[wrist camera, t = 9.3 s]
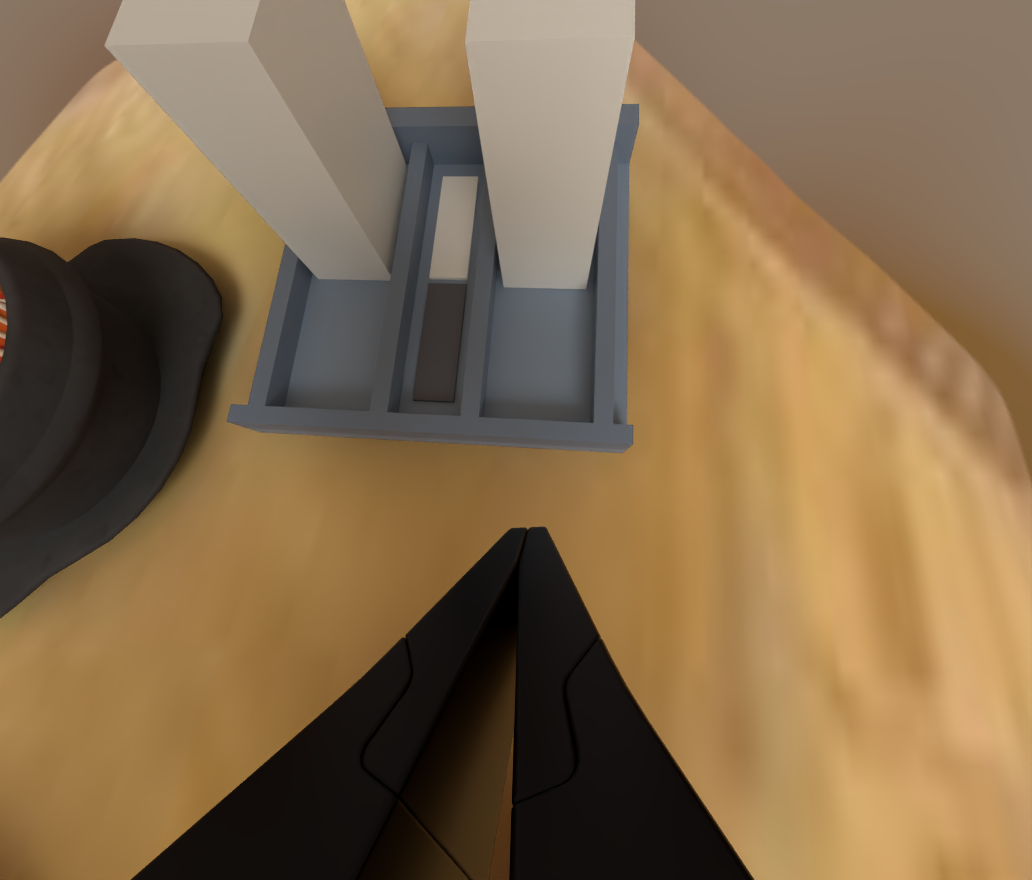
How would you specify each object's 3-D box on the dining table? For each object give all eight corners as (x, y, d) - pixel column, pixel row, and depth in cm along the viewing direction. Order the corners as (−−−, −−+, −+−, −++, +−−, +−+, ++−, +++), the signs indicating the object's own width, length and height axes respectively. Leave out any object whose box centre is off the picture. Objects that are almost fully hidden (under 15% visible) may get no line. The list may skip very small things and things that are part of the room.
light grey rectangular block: (503, 287, 23) (462, 29, 11) (513, 179, 25) (486, -148, 13) (585, 289, 22) (637, 23, 10) (589, 179, 24) (638, -158, 12)
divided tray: (260, 432, 23) (211, 416, 20) (320, 160, 27) (288, 109, 24) (622, 452, 21) (638, 440, 18) (625, 159, 26) (639, 103, 22)
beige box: (318, 279, 24) (93, 34, 12) (339, 176, 26) (161, -130, 14) (393, 280, 23) (240, 28, 11) (410, 176, 25) (291, -139, 13)
